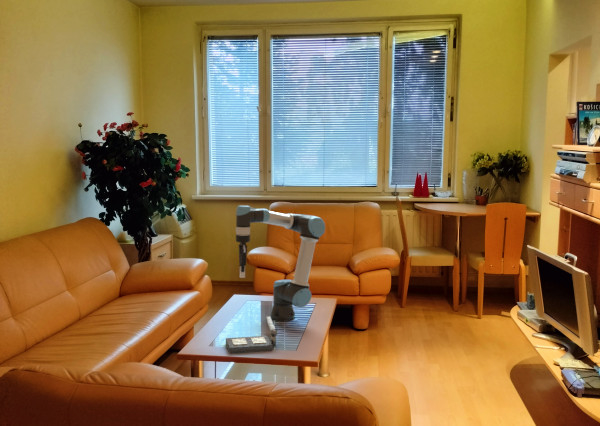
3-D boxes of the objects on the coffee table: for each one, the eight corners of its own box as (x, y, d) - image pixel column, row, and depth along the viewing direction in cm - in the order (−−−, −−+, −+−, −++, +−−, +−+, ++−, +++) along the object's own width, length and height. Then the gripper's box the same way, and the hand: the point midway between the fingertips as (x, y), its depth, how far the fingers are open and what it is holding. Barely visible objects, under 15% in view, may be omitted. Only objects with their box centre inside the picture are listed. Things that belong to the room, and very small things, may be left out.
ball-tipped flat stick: (277, 335, 278) (277, 330, 278) (271, 336, 278) (271, 331, 278) (271, 320, 303) (271, 315, 303) (265, 320, 303) (265, 316, 303)
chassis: (272, 340, 287) (273, 330, 287) (278, 350, 274) (279, 339, 273) (225, 343, 281) (225, 333, 280) (229, 353, 267) (229, 343, 267)
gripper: (234, 232, 293) (233, 274, 296) (237, 236, 281) (237, 280, 283) (247, 232, 295) (247, 274, 298) (252, 236, 283) (251, 280, 285)
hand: (242, 277), depth 291 cm, fingers closed
